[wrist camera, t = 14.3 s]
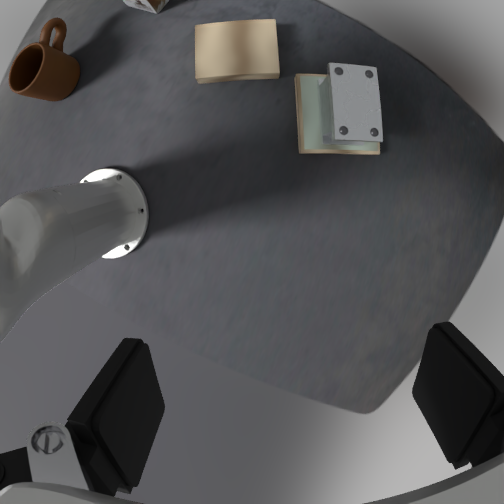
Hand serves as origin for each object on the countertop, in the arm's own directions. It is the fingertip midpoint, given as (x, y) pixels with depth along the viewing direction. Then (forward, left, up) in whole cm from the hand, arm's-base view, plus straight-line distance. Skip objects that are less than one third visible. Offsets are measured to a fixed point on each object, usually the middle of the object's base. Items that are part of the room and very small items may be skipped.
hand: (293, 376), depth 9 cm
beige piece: (-3, +22, -30) cm, 38 cm away
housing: (+9, +13, -28) cm, 32 cm away
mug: (-29, +26, -31) cm, 49 cm away
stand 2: (+9, +13, -30) cm, 34 cm away
